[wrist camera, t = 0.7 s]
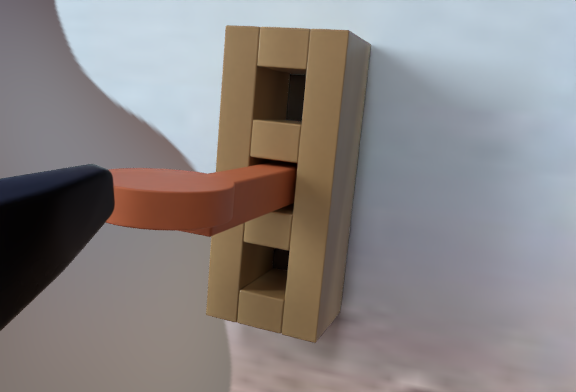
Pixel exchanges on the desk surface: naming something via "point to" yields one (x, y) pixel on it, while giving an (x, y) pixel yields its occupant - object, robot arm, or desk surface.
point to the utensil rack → (309, 183)
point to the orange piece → (200, 197)
